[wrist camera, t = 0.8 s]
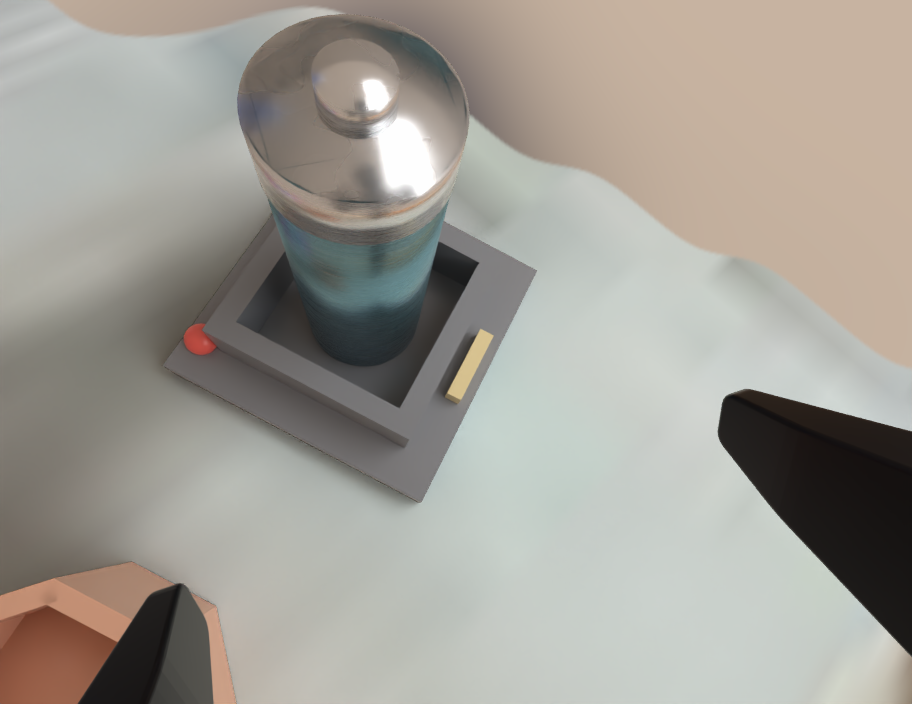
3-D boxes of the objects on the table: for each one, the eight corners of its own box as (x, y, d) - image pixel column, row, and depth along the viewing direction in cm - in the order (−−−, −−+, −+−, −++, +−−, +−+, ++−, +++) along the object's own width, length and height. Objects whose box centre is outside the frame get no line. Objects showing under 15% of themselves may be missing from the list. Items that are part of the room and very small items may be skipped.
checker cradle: (530, 279, 25) (555, 243, 21) (419, 502, 21) (427, 501, 18) (318, 167, 25) (309, 114, 21) (171, 372, 21) (134, 346, 18)
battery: (438, 295, 23) (514, 49, 11) (386, 387, 21) (406, 224, 9) (343, 245, 23) (312, -58, 11) (286, 334, 21) (173, 101, 9)
